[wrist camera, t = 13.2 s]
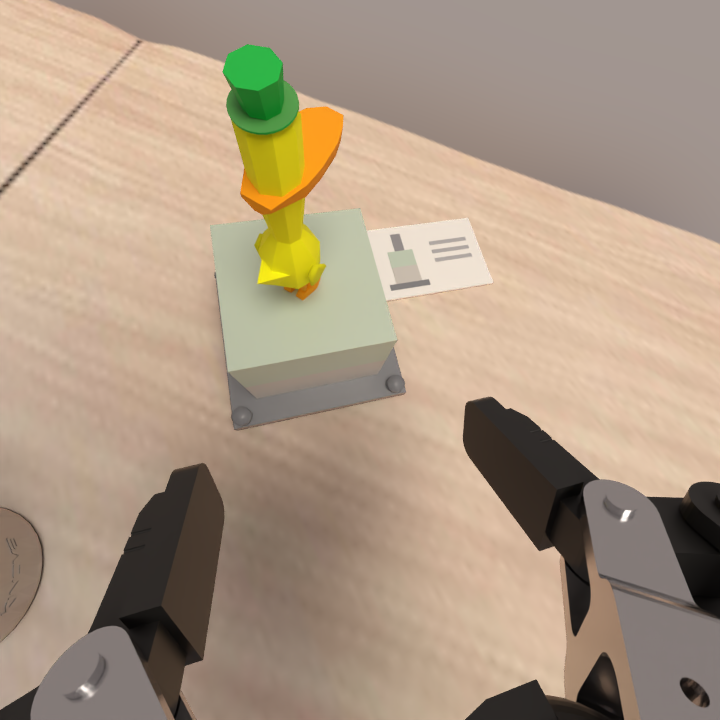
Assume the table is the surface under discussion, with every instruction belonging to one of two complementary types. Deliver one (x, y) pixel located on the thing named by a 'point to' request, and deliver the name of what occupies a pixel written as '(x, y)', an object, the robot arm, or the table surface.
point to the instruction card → (428, 258)
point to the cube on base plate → (304, 326)
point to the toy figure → (280, 163)
